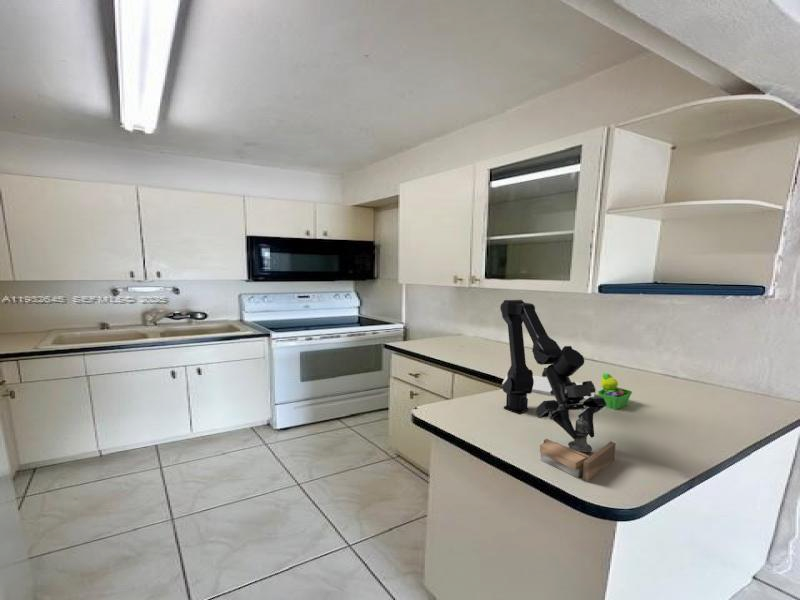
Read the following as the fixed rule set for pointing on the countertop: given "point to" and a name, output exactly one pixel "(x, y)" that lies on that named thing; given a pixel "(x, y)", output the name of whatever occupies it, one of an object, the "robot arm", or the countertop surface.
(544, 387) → the decorative molding
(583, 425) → the grey rounded upright piece
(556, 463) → the grey mdf offcut
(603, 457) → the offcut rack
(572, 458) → the teak offcut
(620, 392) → the fruit basket
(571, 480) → the countertop surface
